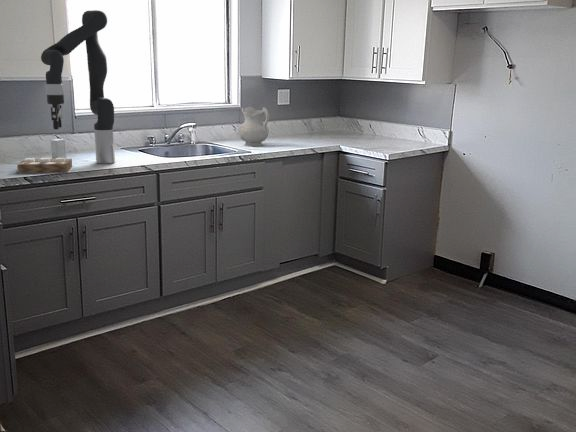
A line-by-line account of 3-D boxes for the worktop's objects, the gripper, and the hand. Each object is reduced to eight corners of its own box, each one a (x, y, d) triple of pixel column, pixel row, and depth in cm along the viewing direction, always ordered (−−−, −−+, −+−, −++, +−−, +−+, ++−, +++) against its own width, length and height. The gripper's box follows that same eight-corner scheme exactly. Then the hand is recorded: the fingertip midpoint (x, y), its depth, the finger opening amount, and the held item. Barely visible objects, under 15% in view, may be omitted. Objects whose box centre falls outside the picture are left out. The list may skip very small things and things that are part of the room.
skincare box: (60, 161, 318) (58, 138, 315) (66, 162, 317) (65, 139, 314) (51, 163, 313) (50, 140, 310) (58, 164, 311) (56, 140, 308)
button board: (72, 166, 305) (71, 157, 304) (67, 172, 290) (66, 163, 288) (25, 167, 301) (24, 158, 299) (18, 173, 285) (17, 163, 284)
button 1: (35, 162, 295) (35, 157, 295) (33, 163, 291) (33, 159, 291) (26, 162, 294) (26, 158, 294) (24, 163, 291) (24, 159, 290)
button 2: (65, 161, 298) (65, 157, 297) (64, 163, 294) (64, 158, 293) (57, 161, 297) (56, 157, 296) (55, 163, 293) (55, 159, 293)
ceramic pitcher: (276, 146, 394) (278, 107, 390) (263, 147, 377) (264, 107, 372) (246, 144, 403) (248, 106, 398) (232, 145, 385) (233, 105, 381)
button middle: (50, 161, 296) (50, 157, 296) (49, 163, 293) (48, 159, 292) (41, 161, 296) (41, 157, 295) (40, 163, 292) (39, 159, 291)
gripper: (60, 94, 281) (63, 130, 285) (65, 92, 295) (68, 126, 299) (43, 94, 280) (46, 130, 284) (49, 92, 293) (52, 126, 298)
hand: (57, 128), depth 291 cm, fingers open, 8 cm apart
